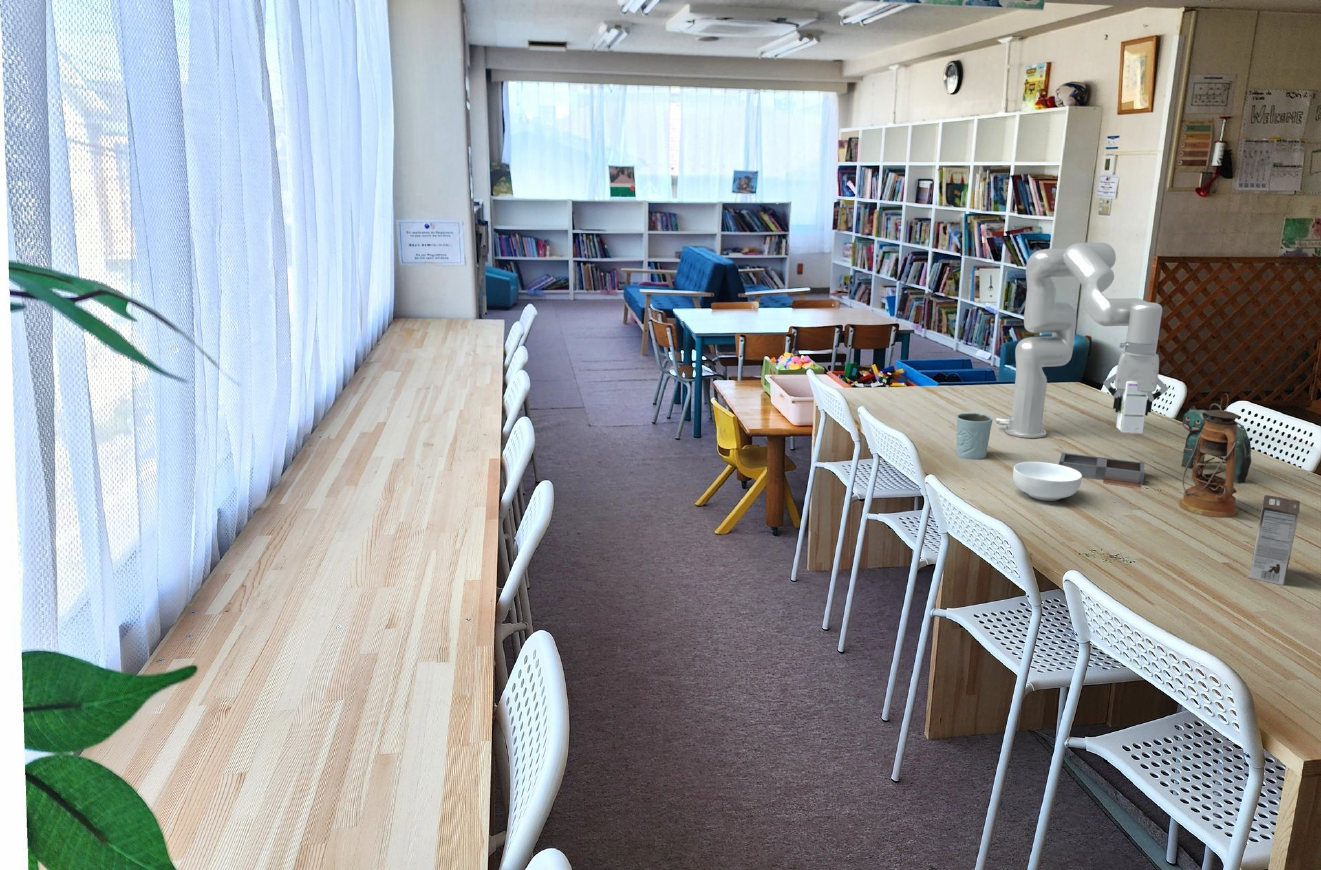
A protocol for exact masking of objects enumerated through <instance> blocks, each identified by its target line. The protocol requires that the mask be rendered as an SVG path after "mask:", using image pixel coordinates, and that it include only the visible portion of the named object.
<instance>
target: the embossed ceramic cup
mask: <svg viewBox="0 0 1321 870" xmlns="http://www.w3.org/2000/svg"><path fill="white" fill-rule="evenodd" d="M992 425H993V417H992V416H991V415H989V414H988V415H987V414H985V413H978V412H964V413H959V414H957V415H956V448H955V449H956V450H955V451H956V452H955V453H956V456H957V457H960V458H962V459H966V460H983V459H986V457H987V455H988V454H987V453H988V448H989V441H990V434H991V429H992Z"/></svg>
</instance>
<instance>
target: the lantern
mask: <svg viewBox="0 0 1321 870" xmlns="http://www.w3.org/2000/svg"><path fill="white" fill-rule="evenodd" d="M1225 395H1226V397H1227V399H1229V396H1228V395H1229V394H1227V393H1223V395H1222V397H1221V401H1220V404H1219V405H1220V408H1219V409H1209V410H1210V411H1209V410H1206V412H1205V413H1206V414H1207V415H1208V419H1206V420H1205V425H1204V427H1203V429H1202V431H1201V433H1200V435H1199V437H1198V440H1197V442H1196V446H1195V449H1194V451H1193V454H1192V456H1191V458H1190V460H1189V462H1188V464H1187V466H1186V467H1185V469H1184V471H1183V475H1182V488H1183V491H1184V492H1183V498H1182V499H1180V501H1179V503H1178V506H1179V507H1180V508H1181V509H1183V510H1185V511H1186V512H1190V513H1193V514H1196V515H1200V516H1206V517H1213V518H1215V517H1216V518H1231V517H1235V516H1236V515H1238V511H1237V508H1236V507H1235V505H1236V497H1235V496H1234V495H1233V494H1236V493H1237V491H1238V490H1237V489H1236V488H1234V486H1235V482H1234V475H1235V466H1236V464H1235V458H1236V442H1237V441H1238V439H1237V438H1236V434H1237V429H1236V428H1237V425H1238V424H1237V422H1238V421H1236V419H1239V418H1240V415H1238V414H1237V413H1235V412H1231V411H1227V409H1228V405H1229V400H1226V401H1227V402H1226V406H1225V410H1223V409H1222V404H1223V399H1224V396H1225ZM1235 421H1236V422H1235ZM1197 446H1198V451H1197V455H1196V456H1195V458H1194V459H1193V464H1194V465H1193V466H1194V467H1193V468H1191V469H1192V474H1191V476H1192V481H1193V484H1194V486H1191V487H1188V488H1185V476H1186V473H1187V470H1188V469H1189V468H1188V466H1189V464H1190V462H1191V460H1192V458H1193V457H1194V454H1195V451H1196V449H1197ZM1206 455H1208V456H1212V457H1211V458H1210V459H1208V460H1205V457H1206ZM1216 458H1218V459H1219V460H1221V461H1219V460H1218V461H1215V459H1216ZM1212 460H1214V461H1212ZM1194 461H1195V462H1194ZM1216 464H1218V465H1217V467H1216V468H1215V470H1214V472H1210V473H1204V469H1205V470H1206V469H1207V465H1216ZM1222 464H1225V469H1224V470H1220V471H1218V469H1219V467H1220V466H1221V465H1222ZM1224 472H1225V478H1224V477H1221V476H1218V474H1221V473H1224Z"/></svg>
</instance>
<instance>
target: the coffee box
mask: <svg viewBox="0 0 1321 870" xmlns="http://www.w3.org/2000/svg"><path fill="white" fill-rule="evenodd" d="M1263 498H1264V499H1263V503H1262V507H1261V512H1260V517H1259V522H1258V525H1257V527H1258V528H1257V532H1256V537H1255V543H1254V548H1253V553H1252V554H1253V555H1252V559H1251V561H1252V562H1251V568H1250V574H1249V578H1250V579H1252V580H1258V581H1260V582H1261V581H1262V582H1267V583H1271V584H1276V585H1281V586H1284V585H1285V582H1286V577H1287V573H1288V568H1289V564H1290V559H1291V553H1292V549H1293V543H1294V540H1295V535H1296V530H1297V525H1298V521H1299V515H1300V505H1301V504H1300V500H1295V499H1290V498H1285V497H1281V496H1275V495H1274V496H1273V495H1269V494H1265V495H1264V497H1263Z"/></svg>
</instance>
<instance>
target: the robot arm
mask: <svg viewBox="0 0 1321 870" xmlns="http://www.w3.org/2000/svg"><path fill="white" fill-rule="evenodd" d="M1116 258H1117V255H1116V251H1115V249H1114V248H1113V246H1112V245H1110V244H1109V243H1106V242H1076V243H1074V244H1071V245H1069V246H1068V247H1067V248H1044V249H1040V250H1036V251H1034V252H1033V253H1032V254H1031V255H1030V256H1029V257H1028V259H1027V261H1026V264H1025V276H1026V277H1025V279H1026V298H1025V305H1024V314H1023V324H1024V325H1023V326H1024V329H1025V330H1026V331H1027V332H1029V333H1032V334H1033V333H1034V334H1045V333H1046V334H1050V333H1051V336H1032V337H1025V338H1022V339H1021V340H1020V341H1018V343H1017V344H1016V346H1015V352H1014V354H1015V355H1014V357H1015V381H1014V391H1013V399H1012V408H1011V416H1010V417H1007V418H1003V417H1002V418H1001V417H997V418H996V424H998V425H999V426H1005V428H1004V432H1005V433H1006V434H1008V435H1010V436H1013V437H1017V438H1018V437H1019V438H1025V439H1041V438H1044V437H1046V436H1047V431H1046V430H1045V428H1043V419H1044V410H1045V403H1046V393H1047V388H1048V387H1047V385H1048V379H1047V376H1046V375H1045V373H1044V370H1043V368H1045V367H1046V368H1047V367H1062V366H1066V364H1068V363H1069V362H1070V361H1071V359H1072V356H1073V352H1074V351H1073V350H1074V343H1075V338H1076V337H1075V336H1076V328H1077V314H1076V311H1075V308H1074V307H1073V305H1071V304H1070V303H1068V302H1061V301H1060V302H1059V301H1058V302H1056V296H1057V295H1056V294H1057V288H1056V285H1055V283H1054V282H1055V281H1054V280H1053V279H1052V278H1059V277H1060V278H1065V277H1067V278H1069V277H1070V278H1071V277H1072V278H1073V277H1074V278H1075V279H1076V281H1078V282H1079V284H1080V285H1081V286H1082V288H1084V289H1083V291H1082V304H1083V308H1084V310H1085V312H1086V313H1087V314H1088V315H1089V316H1090V317H1091V319H1093V321H1094V322H1095V323H1096V324H1098V325H1100V326H1103V327H1127V331H1126V332H1127V333H1126V341H1125V342H1119V348H1120V349H1123V350H1124V351H1122V352H1121V353H1120V356H1119V359H1118V363H1117V368H1116V372H1115V374H1113V375H1112V376H1110V377H1109V378H1107V379H1105V380H1104V381H1103V385H1104V387H1105V388H1106V389H1107V390H1108V392H1109V393H1110V394H1111V396H1112V397H1113V406H1112V409H1114V410H1115V412H1114V413H1117V414H1118V410H1119V403H1120V394H1121V392H1122V391H1123V390H1125V389H1126V382H1129V381H1137V382H1136V383H1137V384H1138V385H1137V391H1141V392H1148V396H1147V404H1146V412H1145V417H1146V416H1149V413H1151V412H1152V407H1153V402H1154V401H1155V400H1157V399H1158V398H1159V397H1161V396H1162V395H1163V394H1165V393H1166V392H1168V390H1169V387H1168V386H1167V385H1166V384H1165V383H1164V382H1163V381H1162V380H1161V379H1160V378H1159V370H1160V369H1159V368H1160V358H1159V354H1157V347H1158V341H1159V333H1160V329H1161V328H1160V327H1161V321H1162V315H1163V307H1162V305H1161V304H1159V303H1158V302H1149V301H1146V300H1143V299H1141V298H1136V297H1135V298H1134V297H1129V298H1128V297H1127V298H1125V297H1122V298H1121V297H1119V298H1107V296H1105V295H1104V293H1103V292H1105V291H1106V290H1107V289H1108V288H1109V287H1110V286H1111V285H1112V284H1113V282H1114V279H1115V273H1114V271H1113V269H1112V268H1114V265H1115V263H1116ZM1113 382H1114V386H1115V388H1116V389H1115V388H1114V387H1113V386H1112V385H1111V383H1113ZM1157 386H1159V390H1157V391H1156V389H1157ZM1153 392H1154V393H1153Z"/></svg>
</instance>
